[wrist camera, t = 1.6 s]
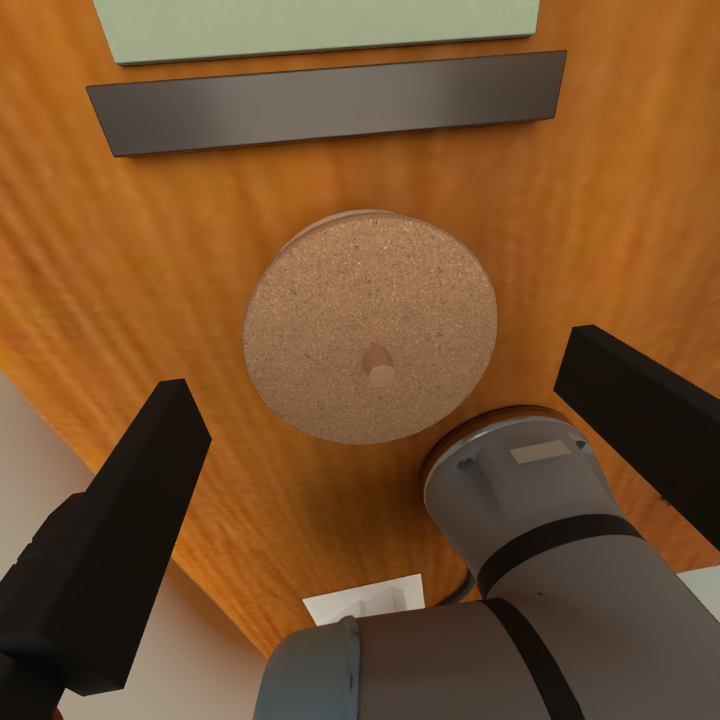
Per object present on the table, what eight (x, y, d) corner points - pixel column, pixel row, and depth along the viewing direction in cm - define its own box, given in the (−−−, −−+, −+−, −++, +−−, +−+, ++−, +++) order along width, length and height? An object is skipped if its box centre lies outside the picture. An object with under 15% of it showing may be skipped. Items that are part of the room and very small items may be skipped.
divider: (535, 121, 17) (555, 118, 15) (130, 157, 15) (113, 157, 14) (546, 59, 15) (568, 49, 14) (105, 92, 14) (83, 85, 13)
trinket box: (440, 349, 23) (506, 448, 15) (290, 376, 23) (279, 492, 15) (438, 178, 17) (544, 194, 10) (239, 212, 17) (176, 258, 9)
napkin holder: (322, 634, 46) (323, 690, 41) (300, 599, 40) (298, 660, 35) (426, 611, 46) (439, 664, 41) (420, 572, 40) (435, 629, 35)
